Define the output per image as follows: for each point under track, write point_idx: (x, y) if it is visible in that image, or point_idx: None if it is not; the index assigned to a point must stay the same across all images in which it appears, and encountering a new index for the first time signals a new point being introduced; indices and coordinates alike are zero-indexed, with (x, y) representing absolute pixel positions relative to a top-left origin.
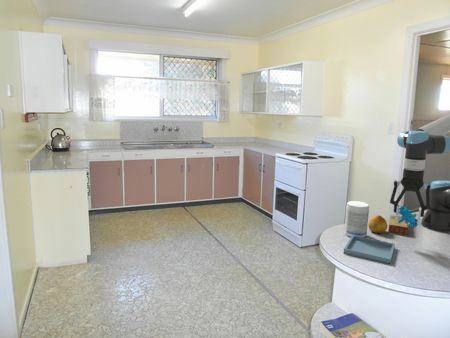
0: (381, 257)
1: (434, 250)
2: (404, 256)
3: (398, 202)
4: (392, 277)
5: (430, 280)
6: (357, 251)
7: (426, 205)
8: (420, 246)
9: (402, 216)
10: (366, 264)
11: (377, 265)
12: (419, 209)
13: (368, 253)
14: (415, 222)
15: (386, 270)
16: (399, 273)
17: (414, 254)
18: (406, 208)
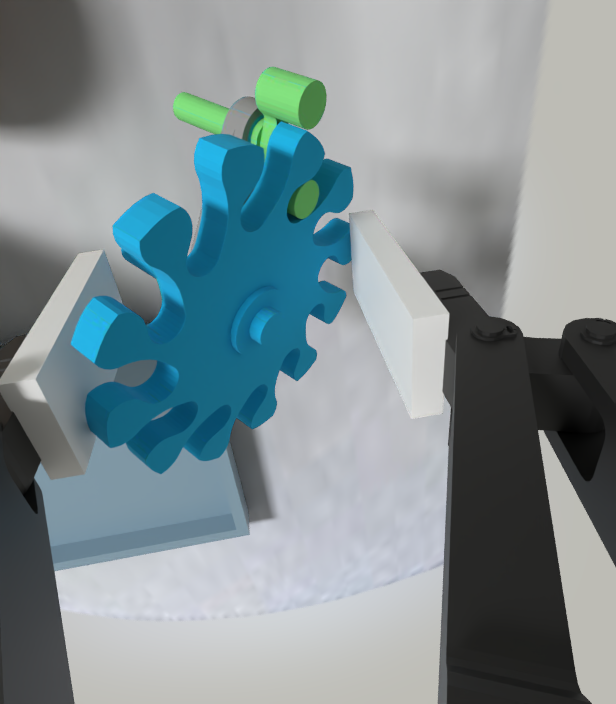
0: (205, 541)
1: (454, 145)
2: (285, 390)
3: (43, 538)
4: (290, 585)
5: (420, 525)
6: (79, 563)
7: (561, 462)
8: (351, 131)
9: (204, 458)
10: (165, 569)
11: (207, 550)
12: (416, 415)
13: (135, 548)
14: (329, 252)
15: (254, 560)
16: (306, 549)
17: (331, 323)
18: (169, 276)
